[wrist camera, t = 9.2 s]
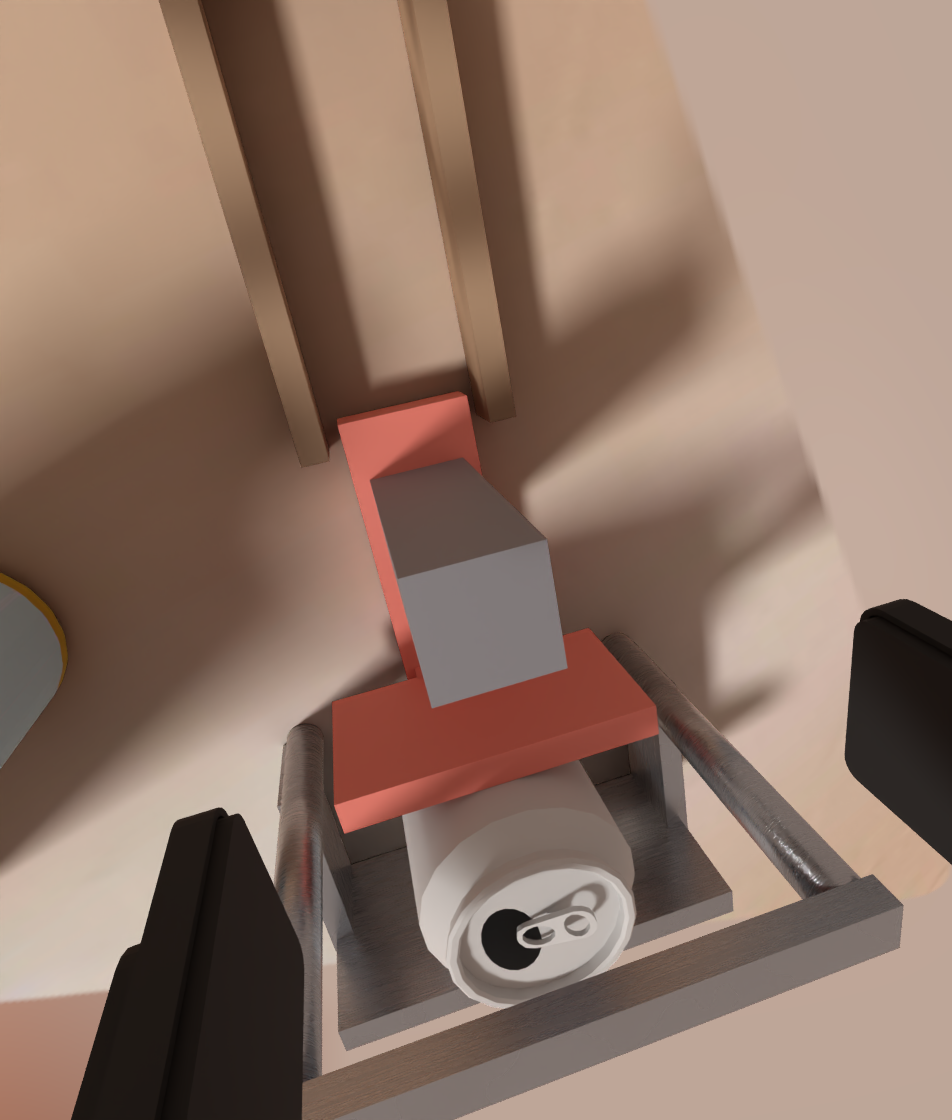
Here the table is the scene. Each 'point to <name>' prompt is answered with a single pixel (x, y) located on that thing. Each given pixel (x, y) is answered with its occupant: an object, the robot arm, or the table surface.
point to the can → (522, 885)
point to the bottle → (26, 661)
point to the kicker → (463, 631)
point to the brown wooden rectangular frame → (452, 190)
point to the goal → (586, 1006)
